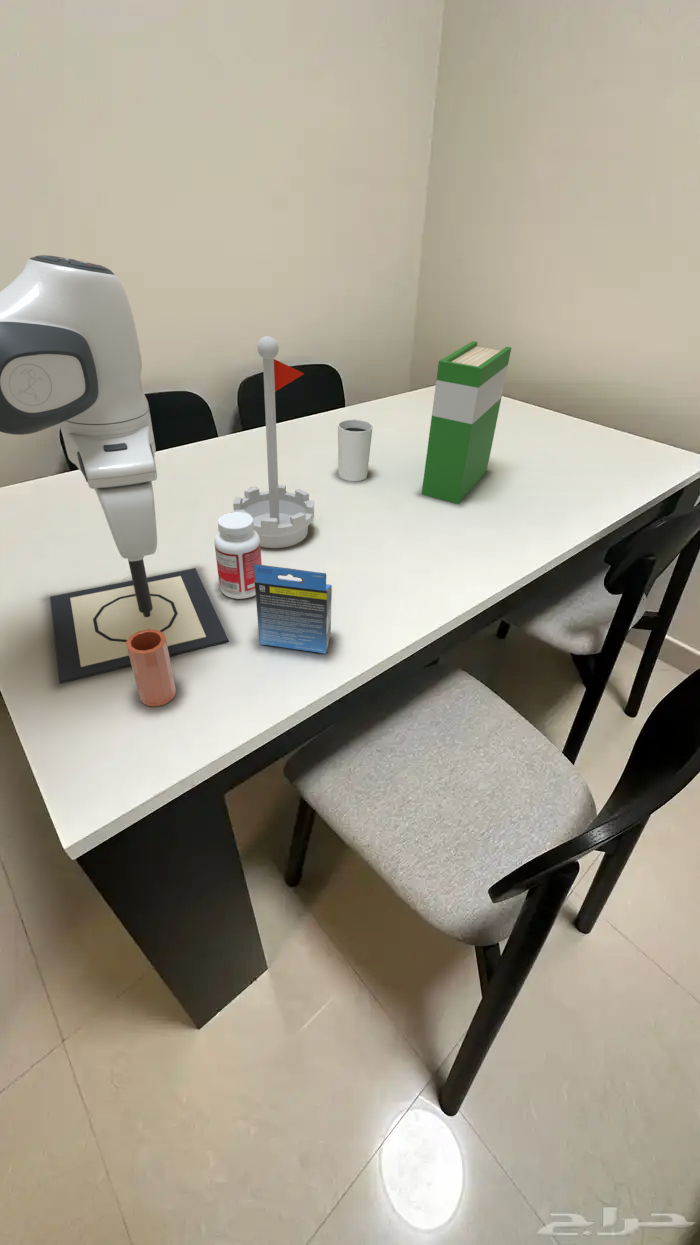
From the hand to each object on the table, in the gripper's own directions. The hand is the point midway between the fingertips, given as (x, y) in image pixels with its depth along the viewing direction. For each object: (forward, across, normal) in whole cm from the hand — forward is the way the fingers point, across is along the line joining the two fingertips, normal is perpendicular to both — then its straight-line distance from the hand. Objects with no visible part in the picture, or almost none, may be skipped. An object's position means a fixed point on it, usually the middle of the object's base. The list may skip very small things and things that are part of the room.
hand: (133, 551), depth 69 cm
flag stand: (+11, -18, +24) cm, 32 cm away
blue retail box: (+12, +10, +17) cm, 23 cm away
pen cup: (+11, +13, -1) cm, 17 cm away
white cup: (+11, -34, +46) cm, 58 cm away
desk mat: (+11, -2, -1) cm, 12 cm away
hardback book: (+11, -24, +64) cm, 69 cm away
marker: (+10, 0, 0) cm, 10 cm away
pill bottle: (+12, -4, +14) cm, 18 cm away
